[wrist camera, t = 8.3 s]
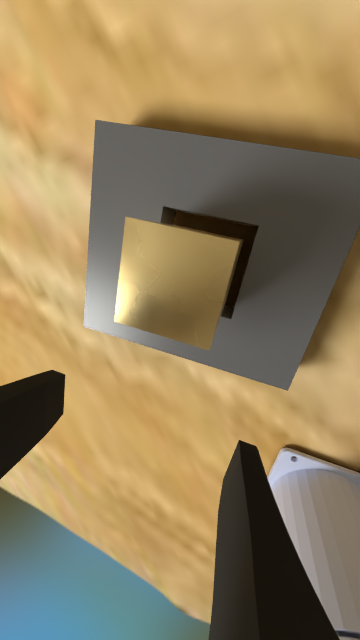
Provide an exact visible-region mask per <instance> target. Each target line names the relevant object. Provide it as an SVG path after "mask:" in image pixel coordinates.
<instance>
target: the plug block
mask: <svg viewBox="0 0 360 640" xmlns="http://www.w3.org/2000/svg"><path fill="white" fill-rule="evenodd" d="M243 241H244V240H243V239H238V238H233V237H229V236H224V235H220V234H215V233H211V232H206V231H201V230H197V229H192V228H188V227H183V226H178V225H172V224H166V223H160V222H154V221H148V220H143V219H137V218H131V217H125V226H124V235H123V244H122V253H121V262H120V272H119V281H118V290H117V299H116V308H115V317H114V322H117V323H120V324H124V325H127V326H130V327H134V328H137V329H140V330H143V331H147V332H150V333H153V334H157V335H160V336H163V337H166V338H170V339H173V340H176V341H179V342H183V343H186V344H189V345H193V346H196V347H199V348H202V349H206V350H210V347H211V344H212V342H213V339H214V336H215V333H216V330H217V327H218V324H219V321H220V318H221V315H222V312H223V309H224V306H225V304H226V301H227V297H228V294H229V290H230V287H231V283H232V279H233V276H234V272H235V269H236V265H237V262H238V258H239V255H240V251H241V248H242V244H243Z"/></svg>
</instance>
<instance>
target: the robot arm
mask: <svg viewBox="0 0 360 640" xmlns="http://www.w3.org/2000/svg"><path fill="white" fill-rule="evenodd" d="M64 388H65V374H62V373H59V372H57V371H54V370H50V371H46V372H43V373H40V374H37V375H33V376H30V377H27V378H24V379H21V380H18V381H15V382H12V383H9V384H6V385H3V386H0V479H1V478H2V477H3V476H4V475H5V474H6V473H7V472H8V471H9V470H10V469H11V468H13V467H14V466H15V465H16V464H17V463H18V462H19V461H20V460H21V459H22V458H23V457H24V456H25V455H26V454H27V453H28V452H29V451H30V450H31V449H32V448H33V447H34V446H35V445H36V444H37V443H38V442H39V441H40V440H41V439H42V438H43V437H44V436H45V435H46V434H47V433H48V432H49V431H50V429H51V428H52V427H53V426H54V425H55V423H56V422H57V421H58V420H59V418H60V417H61V416H62V415H63V409H64ZM292 456H296V457H292ZM209 640H360V473H358V472H355V471H353V470H350V469H347V468H344V467H341V466H338V465H336V464H333V463H330V462H327V461H324V460H321V459H319V458H316V457H313V456H310V455H307V454H304V453H302V452H299V451H296V450H293V449H290V448H282V449H281V450H280V452H279V454H278V456H277V458H276V460H275V462H274V464H273V467H272V469H271V471H270V473H269V475H268V477H267V476H266V473H265V470H264V467H263V464H262V461H261V457H260V454H259V451H258V449H257V447H256V446H254V445H251V444H249V443H246V442H243V441H241V440H239V442H238V444H237V447H236V449H235V451H234V454H233V456H232V459H231V461H230V464H229V466H228V469H227V471H226V474H225V476H224V479H223V485H222V491H221V497H220V504H219V510H218V525H217V541H216V558H215V574H214V591H213V605H212V616H211V625H210V633H209Z"/></svg>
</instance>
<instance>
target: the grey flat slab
mask: <svg viewBox="0 0 360 640" xmlns="http://www.w3.org/2000/svg"><path fill="white" fill-rule="evenodd" d="M175 211H180V212H184V213H189V214H194V215H199V216H204V217H209V218H214V219H219V220H224V221H228V222H233V223H238V224H243V225H248V226H253V227H257V231H256V234H255V237H254V241H253V244H252V247H251V251H250V254H249V258H248V261H247V264H246V268H245V271H244V275H243V278H242V281H241V285H240V288H239V292H238V295H237V298H236V302H235V305H234V308H232V307H228V306H224V309H223V312H222V315H221V318H220V321H219V324H218V327H217V330H216V333H215V336H214V339H213V342H212V344H211V347H210V350H206V349H202V348H199V347H196V346H193V345H189V344H186V343H183V342H179V341H176V340H173V339H170V338H166V337H163V336H160V335H157V334H153V333H150V332H147V331H143V330H140V329H137V328H134V327H130V326H127V325H124V324H120V323H117V322H114V317H115V308H116V299H117V290H118V281H119V272H120V262H121V253H122V244H123V235H124V226H125V217H131V218H137V219H143V220H148V221H154V222H160V223H166V224H172V225H173V223H174V217H175ZM359 227H360V158H353V157H347V156H340V155H333V154H326V153H319V152H312V151H305V150H299V149H292V148H285V147H278V146H271V145H264V144H257V143H250V142H244V141H237V140H230V139H223V138H216V137H209V136H202V135H196V134H189V133H182V132H175V131H168V130H161V129H154V128H147V127H141V126H134V125H127V124H120V123H113V122H106V121H99V120H96V121H95V138H94V155H93V173H92V190H91V207H90V224H89V242H88V259H87V276H86V294H85V311H84V327H87V328H90V329H93V330H96V331H99V332H103V333H106V334H109V335H112V336H115V337H118V338H122V339H125V340H128V341H131V342H134V343H138V344H141V345H144V346H147V347H150V348H154V349H157V350H160V351H163V352H166V353H169V354H173V355H176V356H179V357H182V358H185V359H189V360H192V361H195V362H198V363H201V364H205V365H208V366H211V367H214V368H217V369H221V370H224V371H227V372H230V373H233V374H236V375H240V376H243V377H246V378H249V379H252V380H256V381H259V382H262V383H265V384H268V385H272V386H275V387H278V388H281V389H284V390H288V389H289V387H290V385H291V382H292V380H293V378H294V375H295V373H296V371H297V369H298V366H299V364H300V362H301V360H302V357H303V355H304V353H305V350H306V348H307V346H308V344H309V341H310V339H311V337H312V334H313V332H314V330H315V328H316V325H317V323H318V321H319V319H320V316H321V314H322V312H323V309H324V307H325V305H326V303H327V300H328V298H329V296H330V293H331V291H332V289H333V287H334V284H335V282H336V280H337V277H338V275H339V273H340V271H341V268H342V266H343V264H344V262H345V259H346V257H347V255H348V252H349V250H350V248H351V246H352V243H353V241H354V239H355V236H356V234H357V232H358V230H359Z"/></svg>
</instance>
